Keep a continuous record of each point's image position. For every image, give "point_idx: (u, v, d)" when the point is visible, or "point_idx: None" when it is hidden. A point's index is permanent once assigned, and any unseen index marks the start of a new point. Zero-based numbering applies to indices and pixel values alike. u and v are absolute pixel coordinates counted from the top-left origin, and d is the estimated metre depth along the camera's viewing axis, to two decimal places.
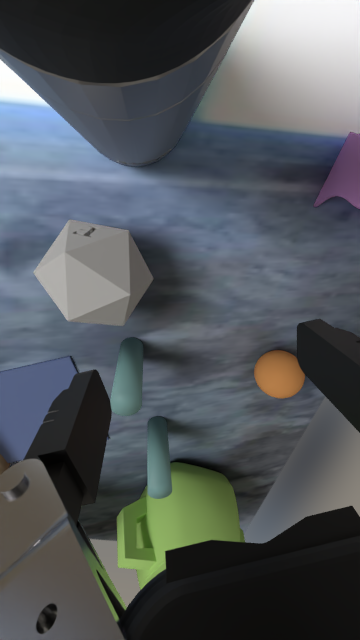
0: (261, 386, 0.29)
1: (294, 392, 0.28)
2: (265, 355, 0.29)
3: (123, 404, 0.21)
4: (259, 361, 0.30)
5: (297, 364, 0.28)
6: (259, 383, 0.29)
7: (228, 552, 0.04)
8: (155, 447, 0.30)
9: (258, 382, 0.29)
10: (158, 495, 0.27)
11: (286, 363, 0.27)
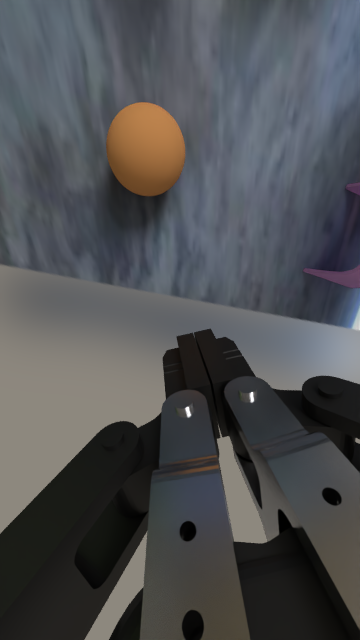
0: (130, 105, 0.16)
1: (136, 157, 0.16)
2: None
3: None
4: None
5: (178, 169, 0.18)
6: (135, 103, 0.16)
7: None
8: None
9: (134, 104, 0.16)
10: None
11: (182, 146, 0.17)
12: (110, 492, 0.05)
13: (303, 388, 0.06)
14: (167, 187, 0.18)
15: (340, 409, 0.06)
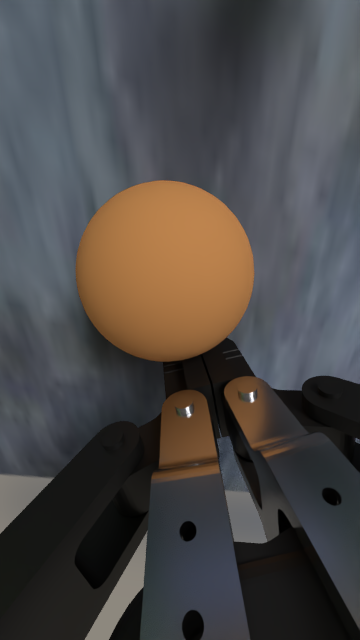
0: None
1: (110, 213, 0.06)
2: None
3: None
4: None
5: (229, 260, 0.06)
6: None
7: None
8: None
9: None
10: None
11: (240, 227, 0.07)
12: (110, 492, 0.05)
13: (303, 388, 0.06)
14: (198, 306, 0.06)
15: (340, 409, 0.06)
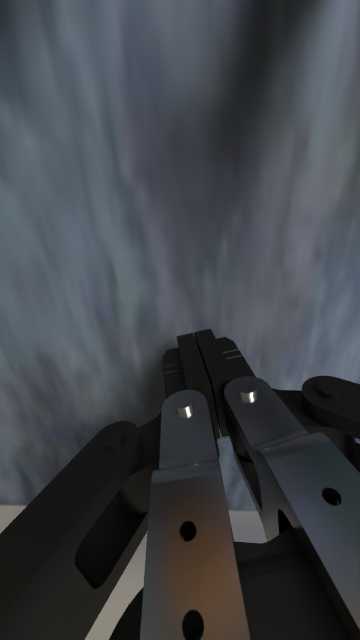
0: None
1: None
2: None
3: None
4: None
5: None
6: None
7: None
8: None
9: None
10: None
11: None
12: (110, 492, 0.05)
13: (303, 388, 0.06)
14: None
15: (340, 409, 0.06)
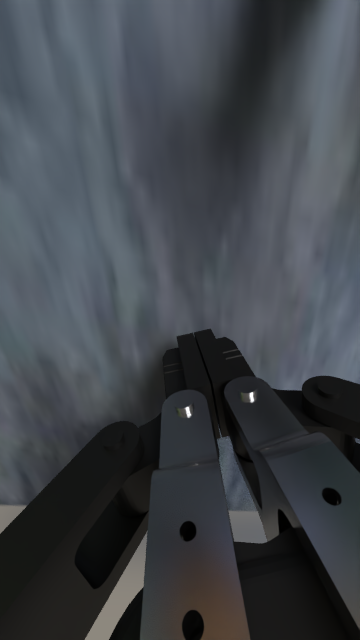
0: None
1: None
2: None
3: None
4: None
5: None
6: None
7: None
8: None
9: None
10: None
11: None
12: (110, 492, 0.05)
13: (303, 388, 0.06)
14: None
15: (340, 409, 0.06)
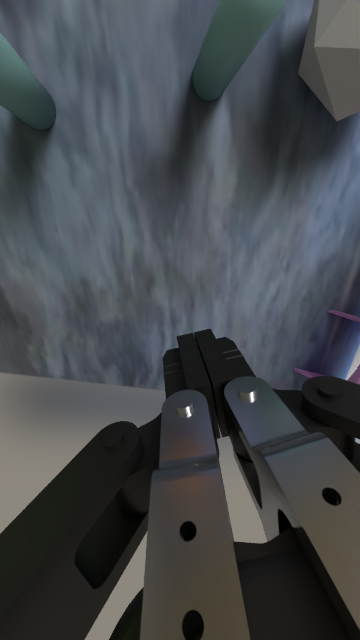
0: None
1: None
2: None
3: None
4: None
5: None
6: None
7: None
8: (27, 71, 0.14)
9: None
10: None
11: None
12: (110, 492, 0.05)
13: (303, 388, 0.06)
14: None
15: (340, 409, 0.06)
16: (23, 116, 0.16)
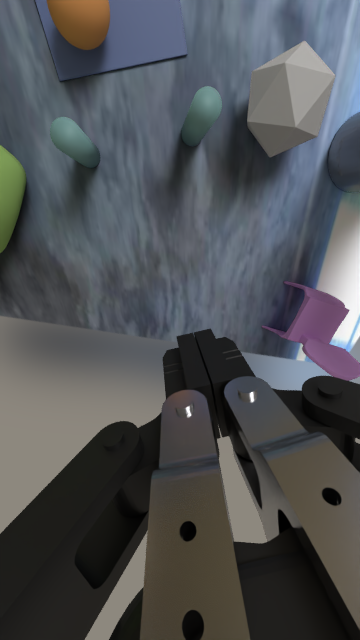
0: (93, 48, 0.25)
1: None
2: (106, 0, 0.23)
3: (207, 102, 0.22)
4: (106, 16, 0.23)
5: None
6: (96, 46, 0.25)
7: None
8: (91, 143, 0.26)
9: (95, 46, 0.25)
10: (58, 133, 0.22)
11: None
12: (110, 492, 0.05)
13: (303, 388, 0.06)
14: None
15: (340, 409, 0.06)
16: (85, 164, 0.28)
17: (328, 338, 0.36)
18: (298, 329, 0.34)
